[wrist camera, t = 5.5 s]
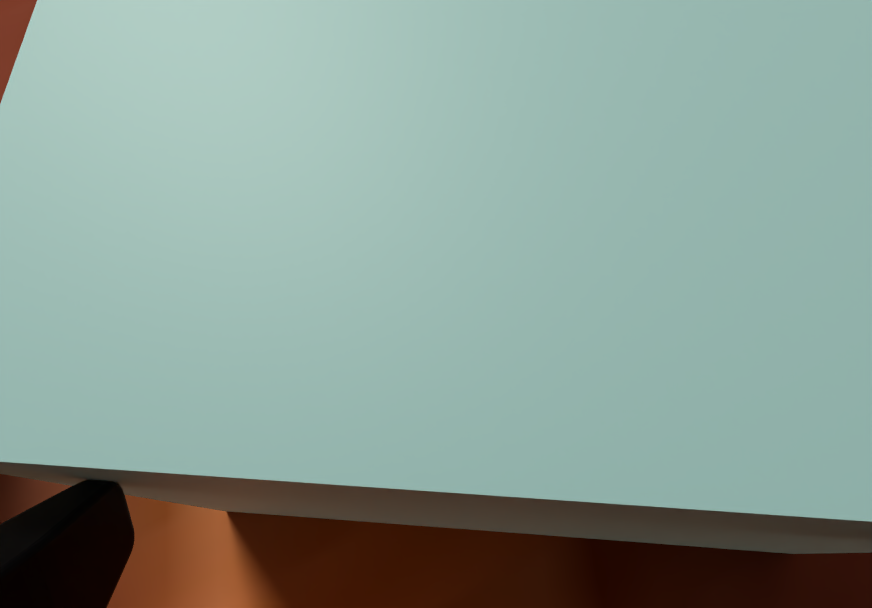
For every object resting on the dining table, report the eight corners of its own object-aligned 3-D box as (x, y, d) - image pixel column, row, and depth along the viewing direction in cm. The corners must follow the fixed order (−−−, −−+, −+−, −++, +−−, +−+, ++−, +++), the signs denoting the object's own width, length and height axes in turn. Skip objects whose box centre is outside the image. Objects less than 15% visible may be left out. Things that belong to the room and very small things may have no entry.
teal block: (792, 553, 14) (1240, 546, 5) (226, 511, 15) (-125, 453, 7) (749, 134, 17) (980, -272, 9) (292, 132, 19) (114, -217, 10)
